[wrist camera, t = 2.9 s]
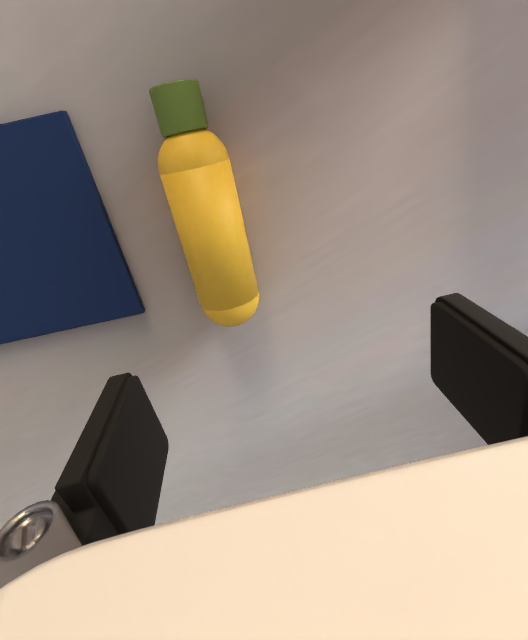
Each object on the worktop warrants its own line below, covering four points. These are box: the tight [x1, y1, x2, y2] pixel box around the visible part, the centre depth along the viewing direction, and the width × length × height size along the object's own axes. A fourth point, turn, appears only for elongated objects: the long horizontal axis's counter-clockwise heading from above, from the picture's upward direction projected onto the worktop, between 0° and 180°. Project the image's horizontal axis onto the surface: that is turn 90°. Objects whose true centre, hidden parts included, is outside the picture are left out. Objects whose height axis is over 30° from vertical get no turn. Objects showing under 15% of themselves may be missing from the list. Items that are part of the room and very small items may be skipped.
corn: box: [149, 79, 259, 326], centre depth 24 cm, size 16×4×4 cm, turn 12°
